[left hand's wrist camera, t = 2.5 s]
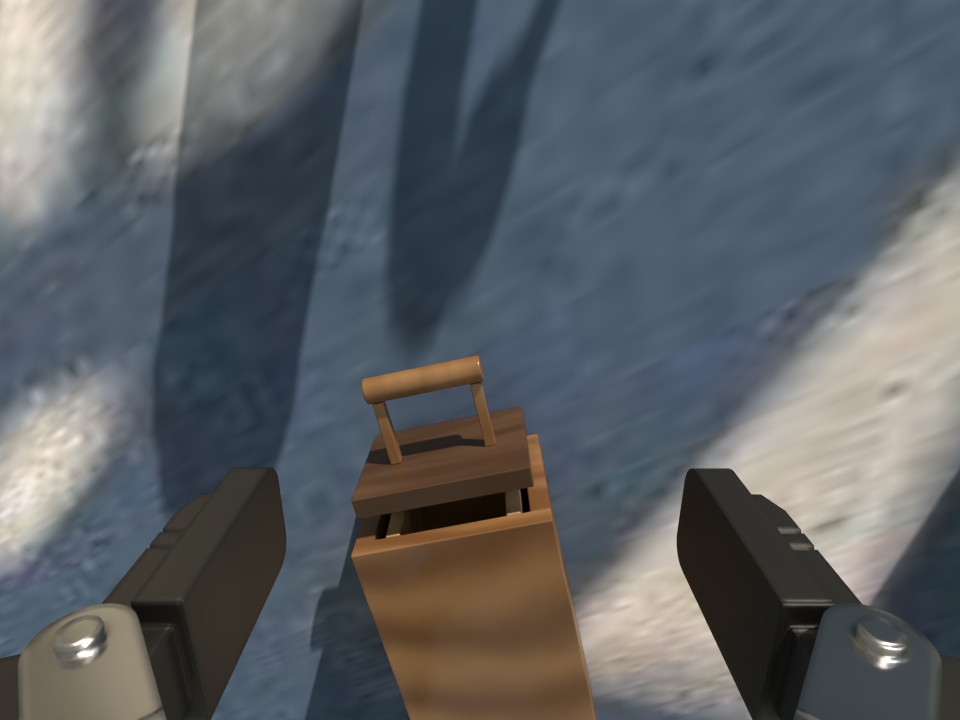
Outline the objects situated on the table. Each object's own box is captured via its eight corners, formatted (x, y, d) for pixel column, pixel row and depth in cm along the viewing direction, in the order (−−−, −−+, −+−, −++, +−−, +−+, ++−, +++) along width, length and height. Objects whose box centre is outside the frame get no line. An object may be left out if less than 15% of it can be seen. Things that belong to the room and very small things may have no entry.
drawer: (351, 359, 35) (319, 411, 28) (504, 327, 34) (508, 372, 27) (452, 675, 44) (446, 772, 37) (575, 655, 43) (592, 750, 36)
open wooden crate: (380, 463, 39) (350, 556, 30) (537, 433, 38) (552, 520, 29) (457, 702, 46) (450, 832, 37) (589, 681, 45) (614, 809, 37)
